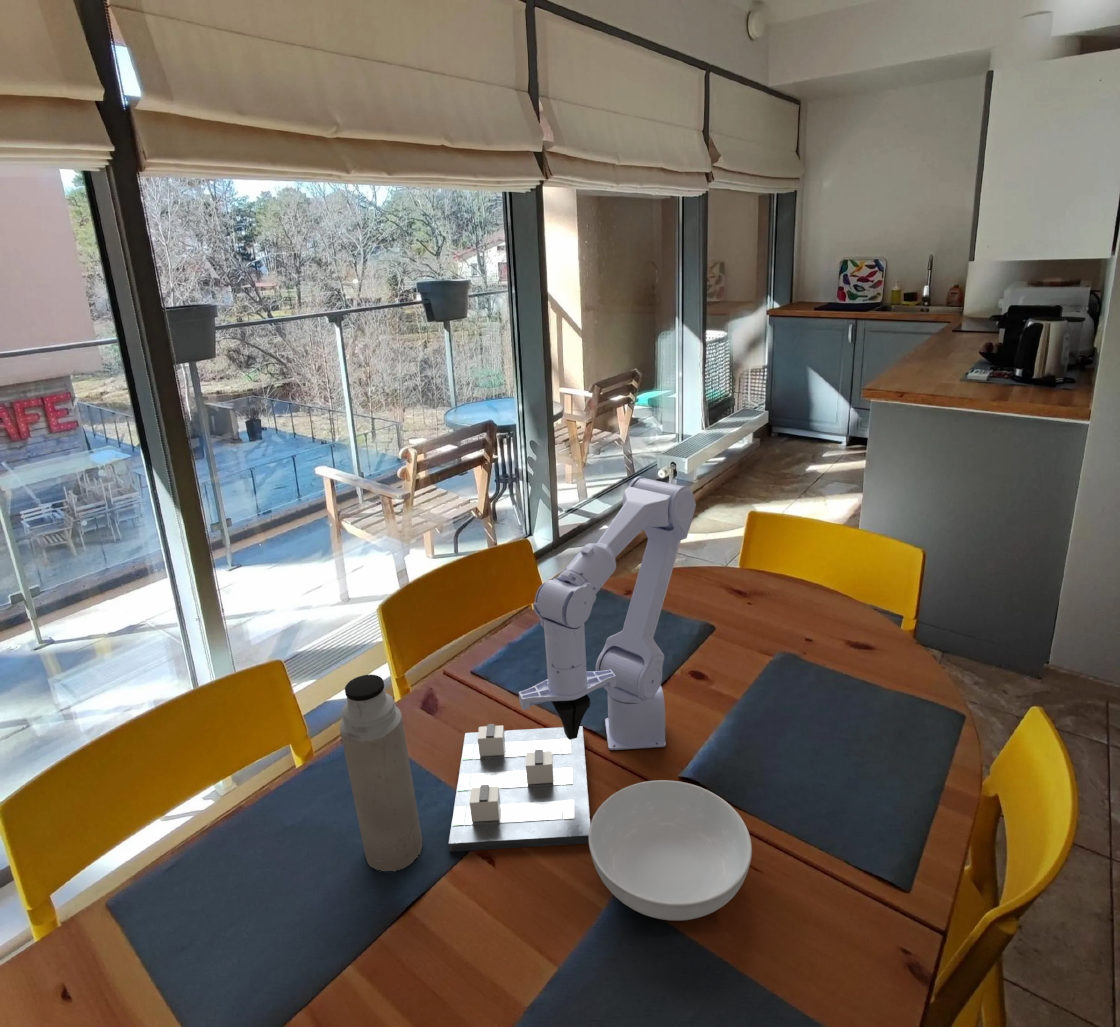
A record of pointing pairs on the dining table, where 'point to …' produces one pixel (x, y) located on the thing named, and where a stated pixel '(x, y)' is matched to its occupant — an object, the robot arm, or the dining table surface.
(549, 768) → the block
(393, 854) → the thermos bottle
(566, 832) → the panel
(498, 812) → the block
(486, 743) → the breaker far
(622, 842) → the serving bowl
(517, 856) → the dining table surface
